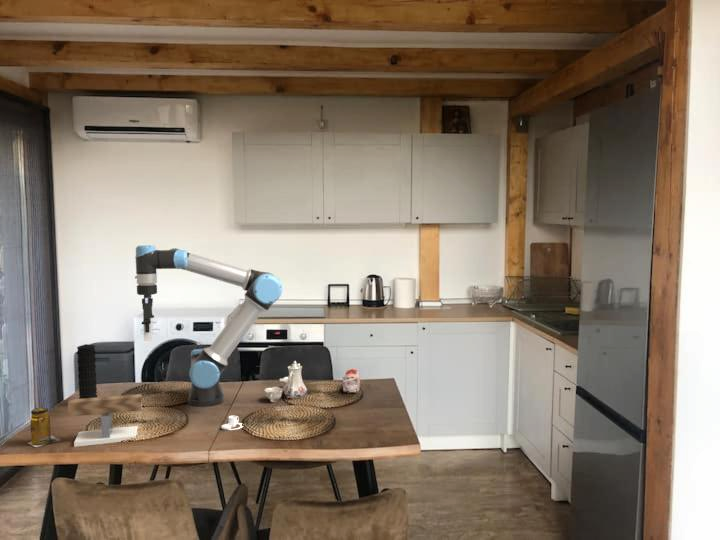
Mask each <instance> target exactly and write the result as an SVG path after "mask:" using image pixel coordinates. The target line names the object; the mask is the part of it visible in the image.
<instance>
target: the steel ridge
mask: <svg viewBox="0 0 720 540" xmlns="http://www.w3.org/2000/svg"><path fill="white" fill-rule="evenodd" d="M100 423H101V425H100V427H101V430H102V439H103V438H110V435H111V432H112V428H113V413H108V414H100Z"/></svg>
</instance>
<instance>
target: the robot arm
mask: <svg viewBox="0 0 720 540" xmlns="http://www.w3.org/2000/svg"><path fill="white" fill-rule="evenodd" d="M134 258H135V269H136V270H135V271H136V272H135V273H136V274H135V276H134V279H135V280H136V284H137V285H136V294H137V295H139V296H143V298H142V299H141V304H142V310H143V313H142V314H143V315H142V316H143V317H142V319H143V320H142V322H141V325H143V341H144V342H145V341H152V335H153V334H154V327H153V326H154V325H153V318H155V315H154V314H153V303H154V302H153V301H154V299H153V297H152V295H156V294H158V285H157V283H158V275H157V270H174V269H175V270H176V269H177V270H179V269H180V270H183V271H187V272H191V273H194V274H197V275H199V276H200V275H201V276H204V277H206V278H211V279H214V280H217V281H220V282H224V283H226V284H231V285H233V286H237V287H239V288H240V287H241V288H242V290H243V291H246V292H245V293H244V301H243V302H242V304H240V306H239V307H238V309H237V310H236V312H235V313H234V314H233V315H232V317H231V318H230V320H229V321H228V323H227V324H226V325H225V326H224V327H223V329H222V330H221V332H220V333H219V334H218V336H217V337H216V338H215V340H214V341H213V342H212V344H211V345H210V346H209V347H204V348H195V349H193V350H191V352H190V369H189V372H188V376H189V379H190V382H191V386H190V390H189V393H188V396H187V403H188V405H189V406H190V405H191V406H193V407H209V406H215V405H219V404H221V403H223V402H224V400H225V393H224V391H223V388H222V386H221V383H220V378H221V377H220V376H221V374H222V373H223V371H224V370H225V369H226V368H227V367H228V365H229V364H228V359H229V357H230V356H231V354H232V353H233V352H234V350H236V348H237V346H239V344H240V342H241V341H242V340H243V338H244V337H245V336H246V334H247V333H248V332H249V330H250V329H251V327H252V326H253V325H254V324H255V323H256V321H257V320H258V318H259V317H260V315H261V314H262V313H264V312H268V311H269V309H270V308H271V307H272V306H273V304H275V302H277V301H278V300H279V299H280V297H281V296H282V292H283V285H282V282H281V280H280V278H278V276H275V275H274V274H273V273H271V272H267V271H259V270H255V269H251V268H250V269H247V270H246V269H244V268H240V267H237V266H235V265H231V264H227V263H224V262H221V261H217V260H214V259H210V258H207V257H204V256H201V255H198V254H194V253H191V252H188V251H187V250H186V249H180V248H175V247H174V248H170V249H165V250H164V249H162V250H159V249H157V248H156V246H155V245H154V244H153V245H150V244H146V245H137V246H136V247H135V257H134Z"/></svg>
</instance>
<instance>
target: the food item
mask: <svg viewBox="0 0 720 540" xmlns="http://www.w3.org/2000/svg"><path fill="white" fill-rule="evenodd" d="M360 385H361V373H360V371H359V370H357V369H354V368H352V369H346V370H345V375H343V376H342V389H343V392H344V393H345V391H349V392H356V391H358V392H360V388H361V386H360Z"/></svg>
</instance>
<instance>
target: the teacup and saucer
mask: <svg viewBox="0 0 720 540" xmlns="http://www.w3.org/2000/svg"><path fill="white" fill-rule="evenodd" d="M239 420H240V417H239V416H238V415H229V416H228V423H225V424H222V425H221V429H223V430H228V431H236V430H239V429H242V428H244V426H242V424H243V423H242V422H239ZM237 425H239V427H237V428H236V426H237Z"/></svg>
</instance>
